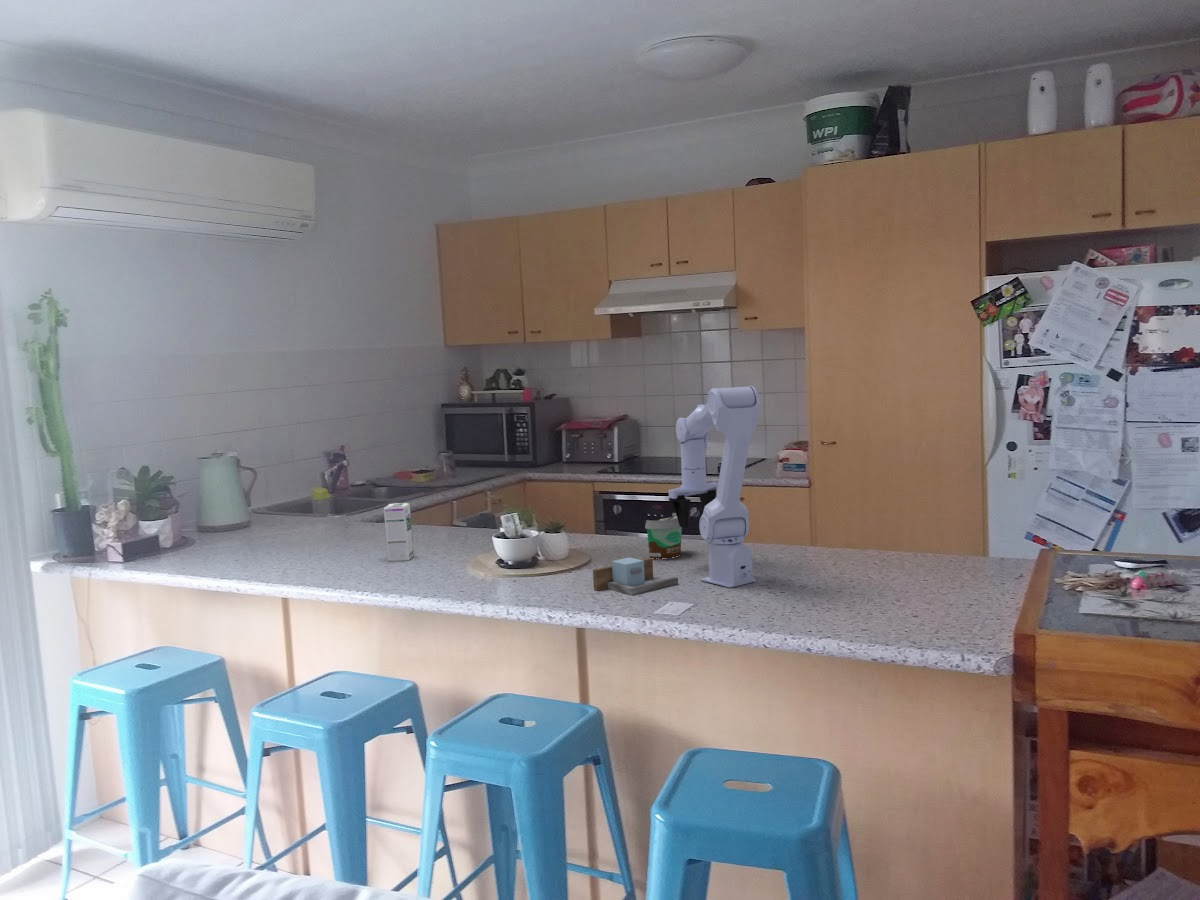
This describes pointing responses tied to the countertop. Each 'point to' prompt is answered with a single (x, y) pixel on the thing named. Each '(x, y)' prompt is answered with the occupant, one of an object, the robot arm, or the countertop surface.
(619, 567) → the cabinet block
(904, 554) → the countertop surface
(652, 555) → the food container
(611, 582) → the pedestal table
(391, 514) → the syrup box
